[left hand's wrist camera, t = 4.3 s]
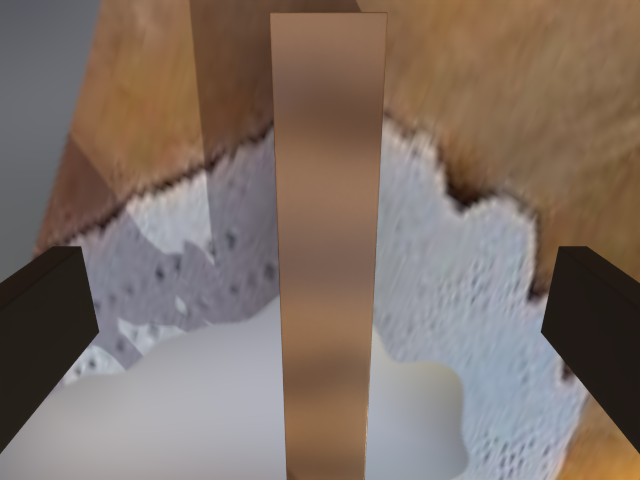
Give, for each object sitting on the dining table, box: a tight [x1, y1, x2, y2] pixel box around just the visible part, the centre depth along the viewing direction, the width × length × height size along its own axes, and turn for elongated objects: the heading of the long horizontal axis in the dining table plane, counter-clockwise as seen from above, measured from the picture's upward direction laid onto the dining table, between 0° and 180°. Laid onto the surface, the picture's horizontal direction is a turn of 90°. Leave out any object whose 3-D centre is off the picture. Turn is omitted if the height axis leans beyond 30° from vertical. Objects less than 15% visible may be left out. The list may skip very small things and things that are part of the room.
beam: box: [270, 12, 388, 480], centre depth 32 cm, size 51×5×9 cm, turn 0°
